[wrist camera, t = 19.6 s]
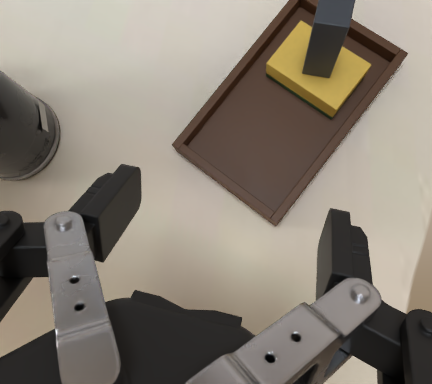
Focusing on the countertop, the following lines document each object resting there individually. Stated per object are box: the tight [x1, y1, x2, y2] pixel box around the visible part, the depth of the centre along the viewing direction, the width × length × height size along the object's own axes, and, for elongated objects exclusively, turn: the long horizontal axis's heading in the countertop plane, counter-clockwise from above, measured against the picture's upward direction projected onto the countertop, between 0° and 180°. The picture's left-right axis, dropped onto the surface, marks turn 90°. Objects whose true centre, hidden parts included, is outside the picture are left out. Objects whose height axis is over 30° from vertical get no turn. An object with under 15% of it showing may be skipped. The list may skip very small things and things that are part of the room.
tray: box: [172, 0, 408, 226], centre depth 38 cm, size 13×21×2 cm, turn 142°
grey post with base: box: [266, 0, 371, 120], centre depth 34 cm, size 8×6×11 cm
